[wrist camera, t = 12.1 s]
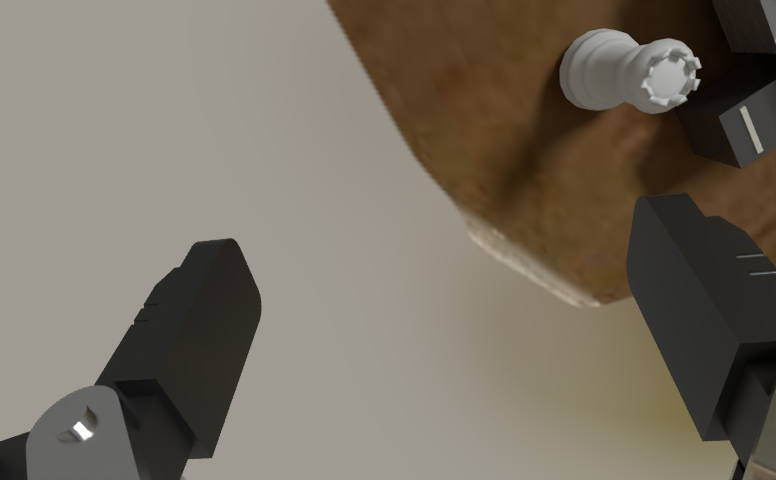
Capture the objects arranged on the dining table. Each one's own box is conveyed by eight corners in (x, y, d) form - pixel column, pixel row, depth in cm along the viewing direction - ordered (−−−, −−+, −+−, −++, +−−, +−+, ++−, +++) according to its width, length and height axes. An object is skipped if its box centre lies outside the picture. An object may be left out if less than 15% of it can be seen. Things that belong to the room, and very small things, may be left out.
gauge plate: (684, -67, 26) (736, -84, 22) (702, -79, 26) (757, -99, 22) (755, 111, 30) (810, 121, 26) (772, 101, 29) (828, 109, 26)
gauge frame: (602, -48, 27) (666, -71, 22) (746, -152, 26) (853, -206, 20) (695, 153, 32) (768, 177, 26) (822, 73, 30) (927, 80, 25)
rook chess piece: (646, 49, 29) (744, 51, 22) (604, 121, 31) (683, 145, 23) (582, 14, 28) (661, 3, 21) (541, 90, 30) (602, 105, 22)
